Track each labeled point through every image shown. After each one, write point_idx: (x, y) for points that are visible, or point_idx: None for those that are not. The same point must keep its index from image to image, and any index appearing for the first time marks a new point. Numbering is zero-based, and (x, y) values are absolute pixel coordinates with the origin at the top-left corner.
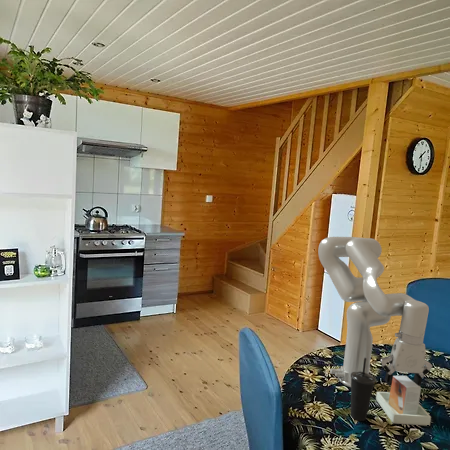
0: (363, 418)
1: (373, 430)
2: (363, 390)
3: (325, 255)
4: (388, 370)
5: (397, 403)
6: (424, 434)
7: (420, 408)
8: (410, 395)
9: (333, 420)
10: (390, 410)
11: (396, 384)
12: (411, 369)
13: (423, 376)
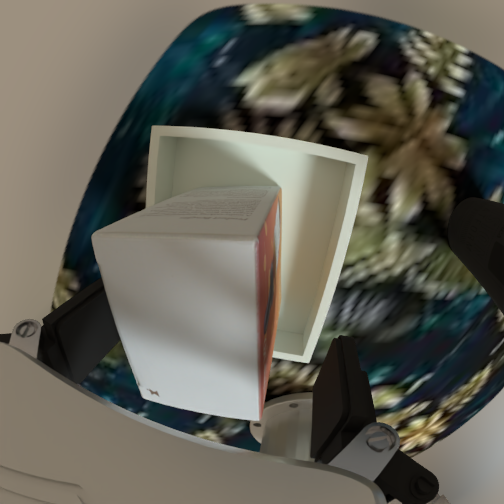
0: (477, 198)
1: (467, 129)
2: None
3: None
4: (386, 465)
5: (279, 251)
6: (245, 63)
7: None
8: (216, 211)
9: None
10: (356, 204)
11: (268, 348)
12: (71, 440)
13: (26, 326)
